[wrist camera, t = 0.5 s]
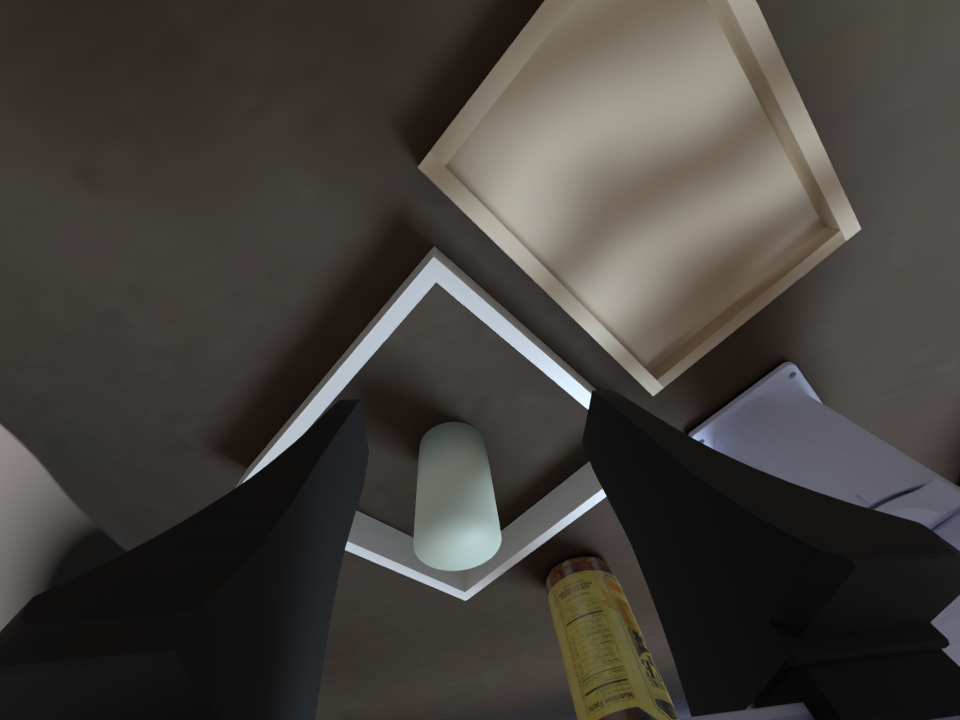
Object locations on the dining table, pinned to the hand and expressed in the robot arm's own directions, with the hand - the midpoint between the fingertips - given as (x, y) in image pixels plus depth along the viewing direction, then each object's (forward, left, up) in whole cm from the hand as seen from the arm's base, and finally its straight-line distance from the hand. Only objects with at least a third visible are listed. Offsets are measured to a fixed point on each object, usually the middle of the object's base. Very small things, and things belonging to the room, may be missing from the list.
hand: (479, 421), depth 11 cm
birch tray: (-3, -10, -10) cm, 15 cm away
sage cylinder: (-6, +8, -10) cm, 14 cm away
